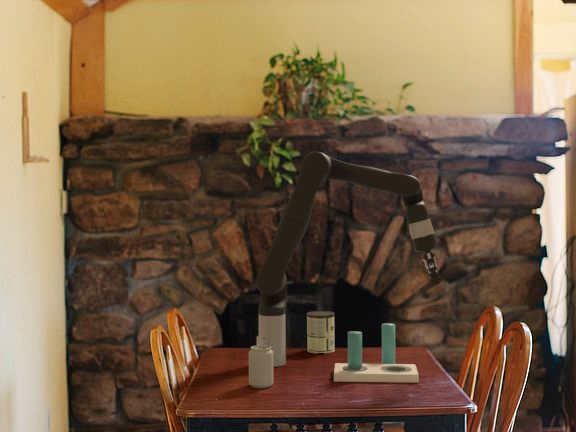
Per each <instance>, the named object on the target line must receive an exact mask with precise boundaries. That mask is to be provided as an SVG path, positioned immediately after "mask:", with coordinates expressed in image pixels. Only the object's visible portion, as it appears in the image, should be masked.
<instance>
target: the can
mask: <svg viewBox="0 0 576 432" xmlns="http://www.w3.org/2000/svg"><path fill="white" fill-rule="evenodd" d="M248 384H249V385H250V386H251V388H254V389H267V388H270V387H272V385H273V384H274V367H273V351H272V350H271V347H270V346H266V345H257V344H256V345H253V346H252V345H251V346H250V350H249V351H248Z"/></svg>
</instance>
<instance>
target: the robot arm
mask: <svg viewBox="0 0 576 432" xmlns="http://www.w3.org/2000/svg"><path fill="white" fill-rule="evenodd" d="M301 163H302V164H301V166H300V170H299V174H298V177H297V180H296V184H295V187H294V189H293V191H292V193H291V195H290V198H289V199H288V201H287V204H286V206H285V209H284V210H283V213H282V215H281V218H280V221H279V223H278V226H277V229H276V231H275V234H274V238H273V241H272V244H271V248H270V249H269V253H268V255H267V257H266V259H265V261H264V263H263V265H262V267H261V269H260V270H259V272H258V274H257V277H256V281H255V282H256V287H257V289H258V291H259V292H260V299H259V305H258V335H257V336H256V346H257V345H266V346H270V347H271V350H272V351H273V368H275V367H276V368H277V367H282V366H285V365H286V364H287V361H286V360H287V343H286V342H287V341H286V339H287V333H286V332H287V331H286V329H287V327H286V322H287V321H286V313H287V312H286V309H287V308H286V307H287V303H288V280H287V279H288V278H287V275H286V271H287V268H288V265H289V263H290V260H291V259H292V256H293V255H294V254H295V251H296V250H297V249H298V247H299V246H300V243H301V241H302V240H303V238H304V236H305V234H306V230H307V228H308V225H309V223H310V221H311V218H312V212H313V208H314V201H315V197H316V195H317V193H318V190H319V188H320V186H321V183H322V182H323V180H334V181H341V182H346V183H350V184H352V185H353V184H354V185H356V186H359V187H363V188H366V189H371V190H373V191H380V192H384V193H387V192H389V193H392V194H395V195H399V196H401V199H402V202H403V205H404V209H405V215H406V220H407V224H408V227H409V233H410V238H411V241H412V245H413V248H414V252H416V253H418V252H423V256H422V261H423V262H424V267H425V268H426V270H427V272H428V273H429V276H430V280H431V283H432V285H433V286H436V285H439V284H440V283H441V282H440V279H439V274H438V266H437V261H436V259H437V258H436V254H435V253H433V251H432V249H434V248H437V247H438V241H437V238H436V233H435V231H434V230H435V229H434V227H433V224H432V221H431V219H430V215H429V211H428V208H427V206H426V203H425V200H424V199H425V198H424V195H423V191H422V185H421V182H420V180H419V179H418V178H417V177H415V176H413V175H409V174H404V173H399V172H397V173H396V172H392V171H389V170H385V169H381V168H376V167H373V166H372V167H371V166H366V165H360V164H354V163H350V162H349V163H348V162H345V161H341V160H338V159H336V158H333V157H332V156H330V155H327V154H325V153H324V152H320V151H312V152H310V153H308V154H306V156H305V157H304V158H303V160H302V162H301Z"/></svg>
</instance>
